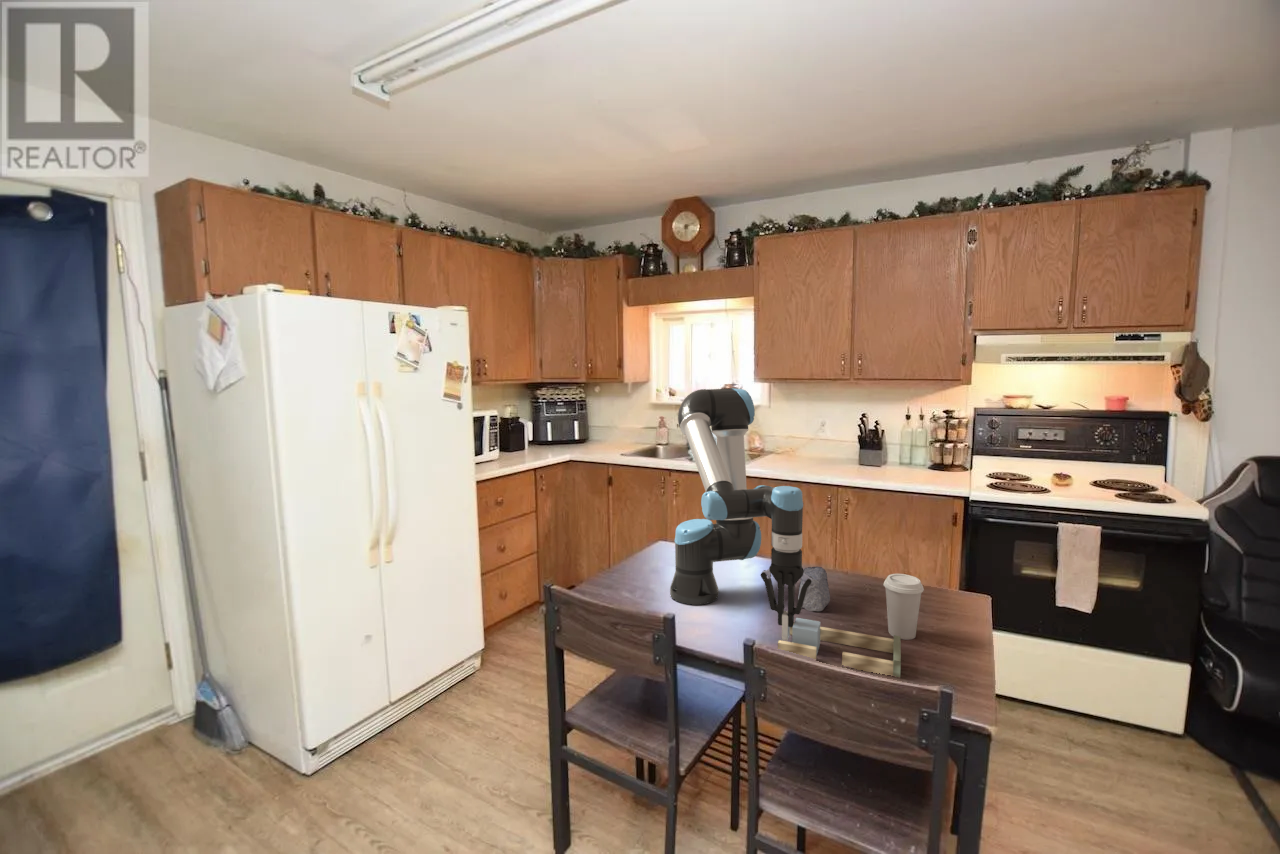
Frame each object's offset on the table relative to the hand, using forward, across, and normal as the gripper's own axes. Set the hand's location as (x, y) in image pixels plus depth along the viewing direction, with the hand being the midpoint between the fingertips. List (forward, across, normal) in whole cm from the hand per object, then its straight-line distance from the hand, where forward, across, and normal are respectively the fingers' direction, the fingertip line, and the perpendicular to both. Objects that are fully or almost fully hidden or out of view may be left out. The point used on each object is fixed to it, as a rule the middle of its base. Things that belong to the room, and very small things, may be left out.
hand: (785, 637), depth 143 cm
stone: (+2, +3, +26) cm, 27 cm away
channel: (+2, +12, 0) cm, 12 cm away
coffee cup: (+2, +27, +18) cm, 32 cm away
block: (+2, +5, 0) cm, 5 cm away
